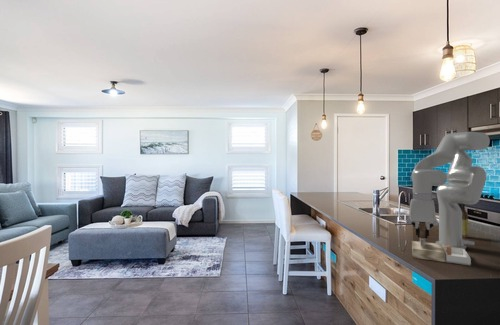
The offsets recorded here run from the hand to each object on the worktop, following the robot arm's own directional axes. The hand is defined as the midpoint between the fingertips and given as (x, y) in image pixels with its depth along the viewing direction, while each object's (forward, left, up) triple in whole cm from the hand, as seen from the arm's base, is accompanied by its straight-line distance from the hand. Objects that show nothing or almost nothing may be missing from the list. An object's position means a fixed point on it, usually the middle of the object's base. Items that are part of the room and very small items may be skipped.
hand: (422, 236), depth 128 cm
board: (-2, 0, -8) cm, 8 cm away
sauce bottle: (-21, -46, -8) cm, 51 cm away
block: (-9, 0, -5) cm, 10 cm away
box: (-12, 0, -8) cm, 15 cm away
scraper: (0, 0, -3) cm, 3 cm away
